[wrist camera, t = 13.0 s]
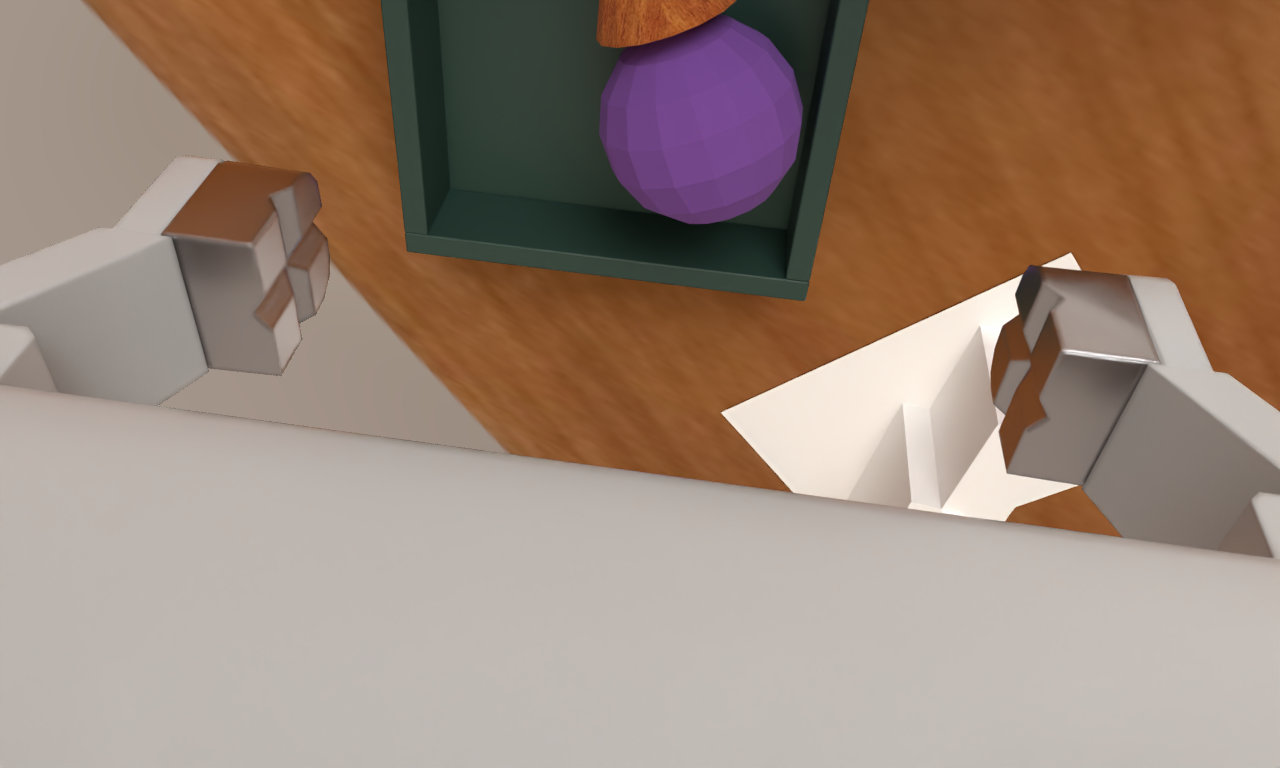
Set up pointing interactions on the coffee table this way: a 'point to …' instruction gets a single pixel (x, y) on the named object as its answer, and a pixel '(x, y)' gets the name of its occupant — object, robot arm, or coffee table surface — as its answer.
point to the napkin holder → (902, 418)
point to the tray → (591, 144)
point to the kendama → (695, 108)
